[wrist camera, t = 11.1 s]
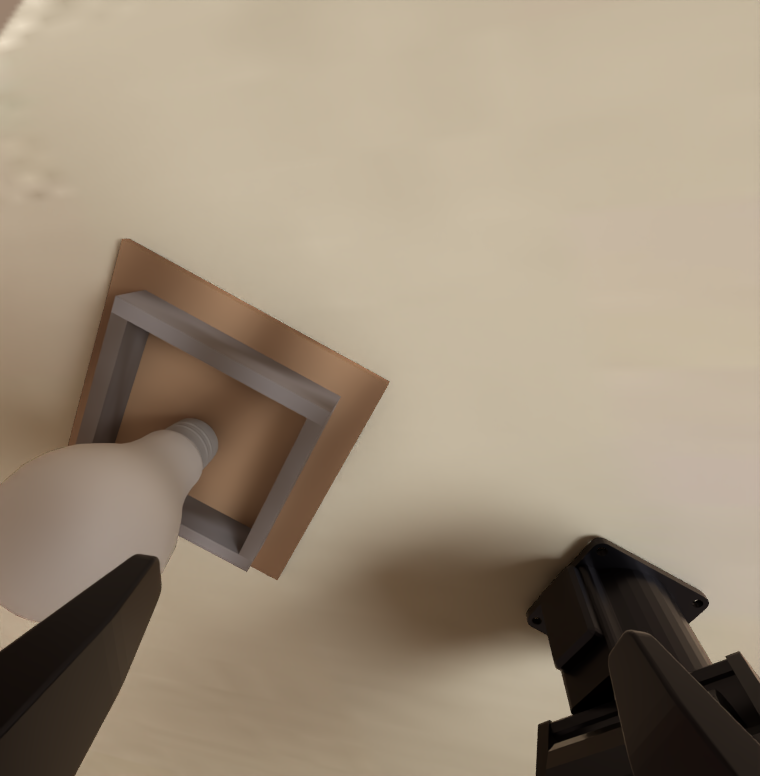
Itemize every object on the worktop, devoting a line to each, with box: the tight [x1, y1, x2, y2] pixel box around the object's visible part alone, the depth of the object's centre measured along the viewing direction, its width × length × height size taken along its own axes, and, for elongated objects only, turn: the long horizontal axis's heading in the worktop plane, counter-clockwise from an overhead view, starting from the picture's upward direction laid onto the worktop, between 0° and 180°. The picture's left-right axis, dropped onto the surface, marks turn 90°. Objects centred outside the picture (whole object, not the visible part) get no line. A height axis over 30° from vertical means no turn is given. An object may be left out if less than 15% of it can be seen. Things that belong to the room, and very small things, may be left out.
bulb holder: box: [68, 239, 390, 580], centre depth 23 cm, size 14×14×2 cm
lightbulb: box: [0, 418, 218, 622], centre depth 18 cm, size 6×6×11 cm
